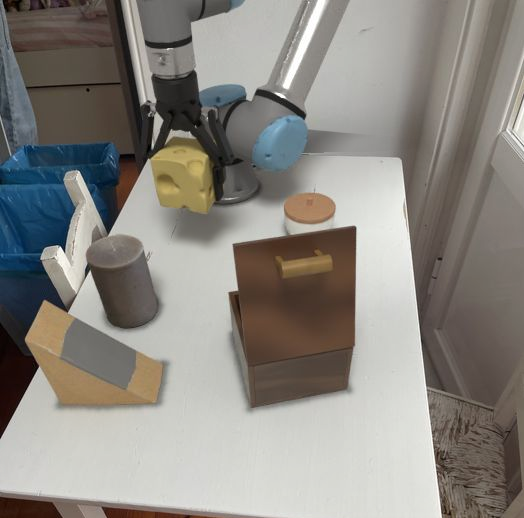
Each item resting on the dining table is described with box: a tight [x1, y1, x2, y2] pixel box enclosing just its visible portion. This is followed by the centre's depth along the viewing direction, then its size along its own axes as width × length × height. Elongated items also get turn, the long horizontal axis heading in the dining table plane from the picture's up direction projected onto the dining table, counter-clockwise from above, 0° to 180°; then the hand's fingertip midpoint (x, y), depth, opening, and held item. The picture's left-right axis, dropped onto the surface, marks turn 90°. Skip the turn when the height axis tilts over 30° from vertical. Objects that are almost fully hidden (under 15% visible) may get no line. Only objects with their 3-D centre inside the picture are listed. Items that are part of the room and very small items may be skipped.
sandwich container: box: [24, 299, 164, 406], centre depth 73 cm, size 9×15×15 cm, turn 90°
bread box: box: [227, 290, 355, 409], centre depth 78 cm, size 17×16×10 cm
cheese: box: [149, 135, 224, 215], centre depth 92 cm, size 10×11×10 cm
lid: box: [232, 225, 358, 366], centre depth 62 cm, size 17×16×6 cm
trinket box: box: [283, 192, 337, 235], centre depth 102 cm, size 11×11×9 cm
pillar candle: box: [85, 233, 159, 329], centre depth 86 cm, size 10×10×15 cm
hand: (192, 194), depth 95 cm, fingers closed on cheese, 11 cm apart
